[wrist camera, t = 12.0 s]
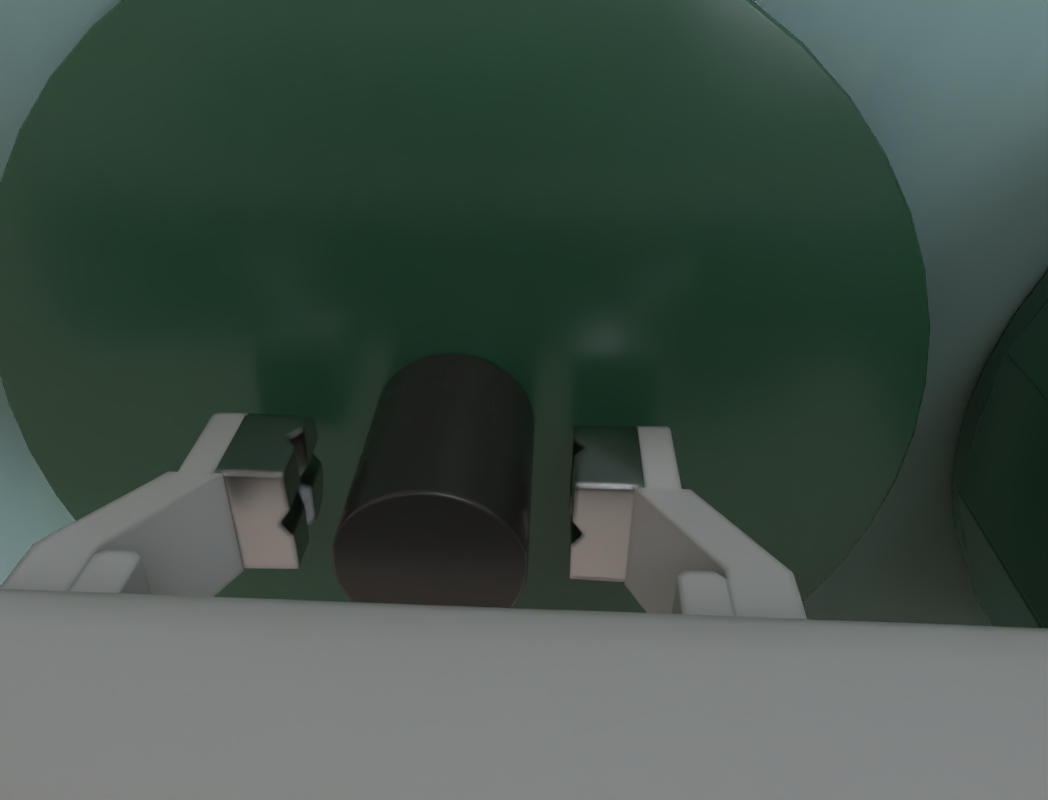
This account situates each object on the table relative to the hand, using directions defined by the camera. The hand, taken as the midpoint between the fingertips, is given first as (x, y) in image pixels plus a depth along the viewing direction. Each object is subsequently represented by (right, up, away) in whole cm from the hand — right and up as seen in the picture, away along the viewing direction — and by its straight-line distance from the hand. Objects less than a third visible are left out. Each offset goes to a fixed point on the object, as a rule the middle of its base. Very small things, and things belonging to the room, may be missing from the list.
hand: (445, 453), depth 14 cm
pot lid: (0, +1, +1) cm, 1 cm away
